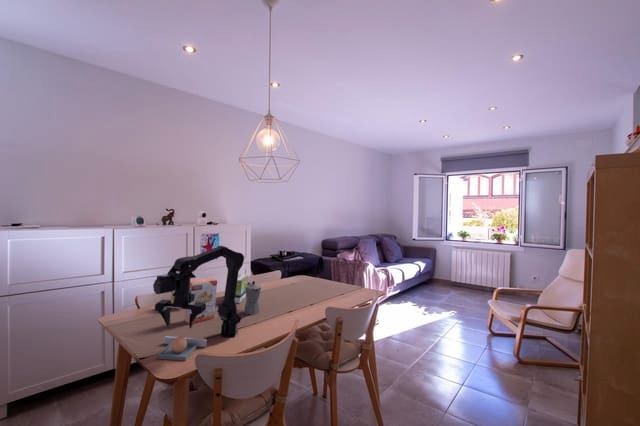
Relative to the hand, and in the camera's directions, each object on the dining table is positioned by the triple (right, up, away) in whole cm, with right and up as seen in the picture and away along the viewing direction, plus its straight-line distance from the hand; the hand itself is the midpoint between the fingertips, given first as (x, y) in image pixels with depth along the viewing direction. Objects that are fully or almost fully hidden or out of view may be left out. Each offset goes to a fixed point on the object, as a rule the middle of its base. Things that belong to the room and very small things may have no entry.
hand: (179, 327), depth 121 cm
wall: (-1, -11, +7) cm, 13 cm away
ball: (-1, -10, 0) cm, 10 cm away
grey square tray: (-1, -11, 0) cm, 11 cm away
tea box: (+3, -9, +70) cm, 71 cm away
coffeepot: (+17, -11, +51) cm, 55 cm away
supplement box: (-24, -8, +48) cm, 54 cm away
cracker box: (-6, -10, +34) cm, 36 cm away
